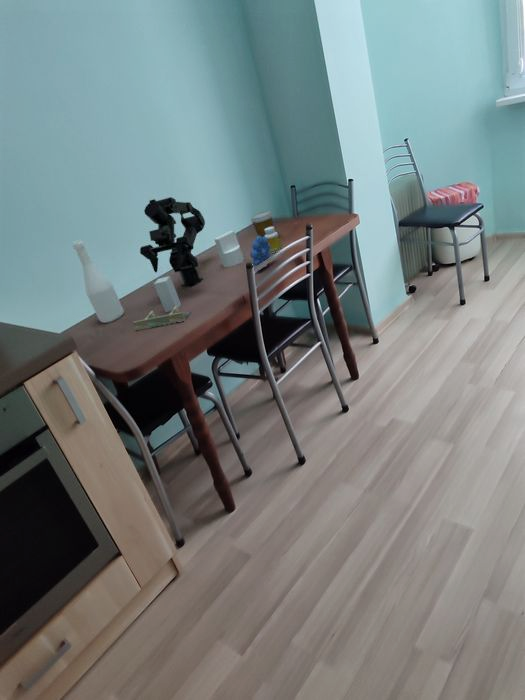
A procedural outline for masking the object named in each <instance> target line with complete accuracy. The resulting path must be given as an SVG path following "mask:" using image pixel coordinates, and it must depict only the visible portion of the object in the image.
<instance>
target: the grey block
mask: <svg viewBox="0 0 525 700" xmlns="http://www.w3.org/2000/svg"><path fill="white" fill-rule="evenodd" d="M153 284H154V287H155V290H156V292H157V295H158V297H159V300H160V302H161V305H162V306H163V309H164V312H165V313H169V312H170V313H171V311H172V310H173V309H174V307H175V306H177V307H178V309H179V308H180V307H181V306H182V303H181V301H180V298H179V296H178V293H177V290H176V288H175V286H174V283H173V281H172V278H171V276H164V277H159V278H158V279H157V280H156V281H155V282H154V283H153Z"/></svg>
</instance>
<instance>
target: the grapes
mask: <svg viewBox="0 0 525 700" xmlns="http://www.w3.org/2000/svg"><path fill="white" fill-rule="evenodd" d="M267 241H268V240H267V238H266V237H261V236H258V235H257V236H256V238H255V240H253V242H252V243H251V248H252V250H251V251H250V255H249V256H250V257H251V258H252V265H253V266H254V267H255V266H257V265H259V264H260V263H262V262H263V261H265V260H266V259H268V258H269V257H270V256H271V257H272V254H271V253H269V250H270V248H271V246H270V244H269V243H267ZM268 266H269V264H268V265H267V266H266V267H265V268H267V267H268ZM262 270H263V269H261V270H260V271H262Z"/></svg>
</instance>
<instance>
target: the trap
mask: <svg viewBox="0 0 525 700" xmlns="http://www.w3.org/2000/svg"><path fill="white" fill-rule="evenodd" d="M191 313H192V311H186V312H184V311H181V312H180V309H179V308H178V307H177V306H175V307H174V309H173V310H172V311H170V313H168V314H165V315H160V316H159V315H158V316H156V315H155V313H154V310H151V311H150V312H149V313H148V315H147V316H146V317H145V318H144V319H140V320H135V321H133V322H132V324H133V327H134V328H135V331H136V330H137V331H141V330H148V329H152V327H153V328H157V327H156V326H158V327H162V326H161V325H163V326H167V325H166V324H168V325H171V323H173V324H177V323H176V322H179V323H183V322H182V321H184V322H185V321H186V320H187V319H188V318H189V316H190V315H191Z"/></svg>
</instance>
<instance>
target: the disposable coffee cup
mask: <svg viewBox="0 0 525 700" xmlns="http://www.w3.org/2000/svg"><path fill="white" fill-rule="evenodd" d="M250 219H251V220H250V222H251V223H252V225H253V226H254V230H255V231H256V232H255V233H256V234H257V236H261V237H265V235H266V233H265V230H264V229H266V228H268V227H274V222H273V213H272V212H271V211H269V210H267V211H266V210H265V211H262V212H261V211H260V212H258V213H256V214H254V215H252V216H251V217H250Z"/></svg>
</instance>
